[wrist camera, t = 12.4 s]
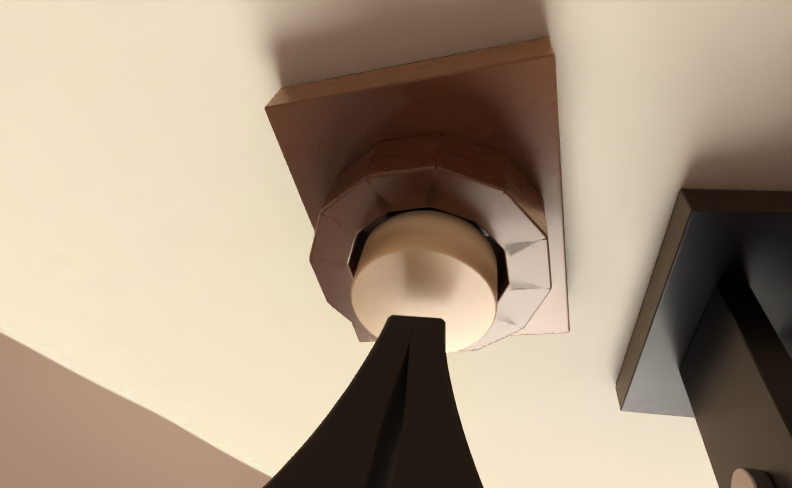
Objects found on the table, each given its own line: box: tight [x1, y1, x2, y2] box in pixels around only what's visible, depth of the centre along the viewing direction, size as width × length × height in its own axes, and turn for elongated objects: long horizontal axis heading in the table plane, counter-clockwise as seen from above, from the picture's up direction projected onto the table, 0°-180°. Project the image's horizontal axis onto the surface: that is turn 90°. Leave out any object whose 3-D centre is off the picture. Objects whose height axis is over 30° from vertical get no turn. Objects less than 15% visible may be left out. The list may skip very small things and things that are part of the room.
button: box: [350, 210, 497, 353], centre depth 14 cm, size 4×4×2 cm
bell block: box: [265, 37, 570, 351], centre depth 16 cm, size 10×8×4 cm
